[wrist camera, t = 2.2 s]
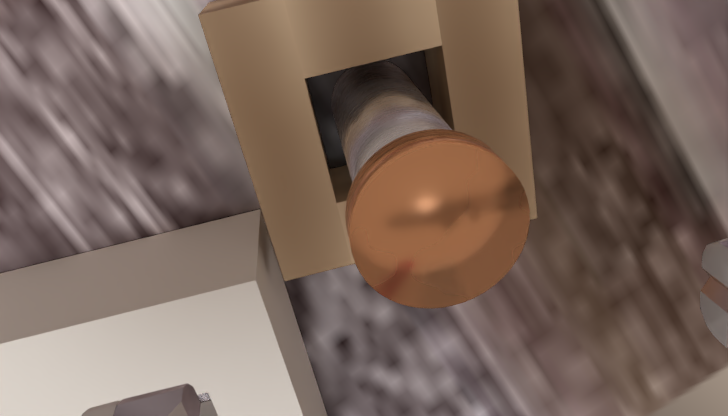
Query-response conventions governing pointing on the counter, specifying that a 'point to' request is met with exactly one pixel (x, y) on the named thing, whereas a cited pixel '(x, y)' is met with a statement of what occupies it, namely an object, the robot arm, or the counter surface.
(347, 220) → the pin
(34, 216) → the counter surface
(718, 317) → the robot arm
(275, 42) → the mount
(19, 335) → the dock
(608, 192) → the counter surface
